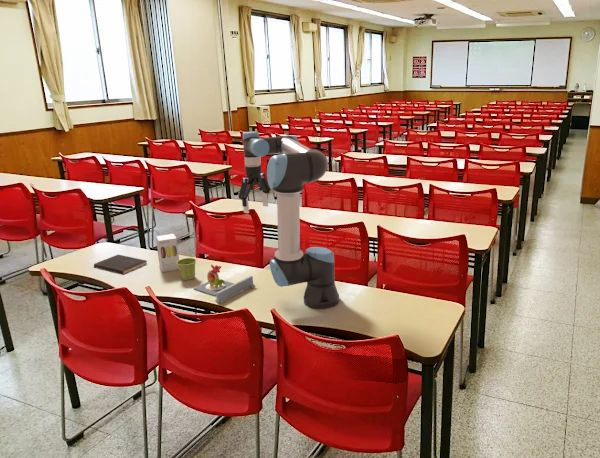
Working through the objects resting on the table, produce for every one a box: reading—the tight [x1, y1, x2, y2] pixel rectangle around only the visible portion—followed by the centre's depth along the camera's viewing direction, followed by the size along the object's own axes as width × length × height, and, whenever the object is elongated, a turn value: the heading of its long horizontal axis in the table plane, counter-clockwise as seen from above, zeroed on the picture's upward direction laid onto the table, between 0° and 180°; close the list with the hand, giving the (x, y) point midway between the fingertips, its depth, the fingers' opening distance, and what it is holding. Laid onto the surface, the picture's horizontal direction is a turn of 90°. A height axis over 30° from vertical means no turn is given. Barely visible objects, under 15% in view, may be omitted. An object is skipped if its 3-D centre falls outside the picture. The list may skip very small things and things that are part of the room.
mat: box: [193, 278, 235, 297], centre depth 227 cm, size 14×14×1 cm
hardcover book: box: [93, 254, 148, 275], centre depth 260 cm, size 16×23×2 cm
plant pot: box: [177, 257, 197, 281], centre depth 238 cm, size 9×9×9 cm
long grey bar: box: [215, 275, 255, 304], centre depth 219 cm, size 4×22×4 cm, turn 143°
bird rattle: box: [206, 264, 225, 289], centre depth 225 cm, size 6×11×9 cm
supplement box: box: [155, 233, 180, 273], centre depth 251 cm, size 10×9×17 cm
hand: (256, 209), depth 234 cm, fingers open, 13 cm apart
